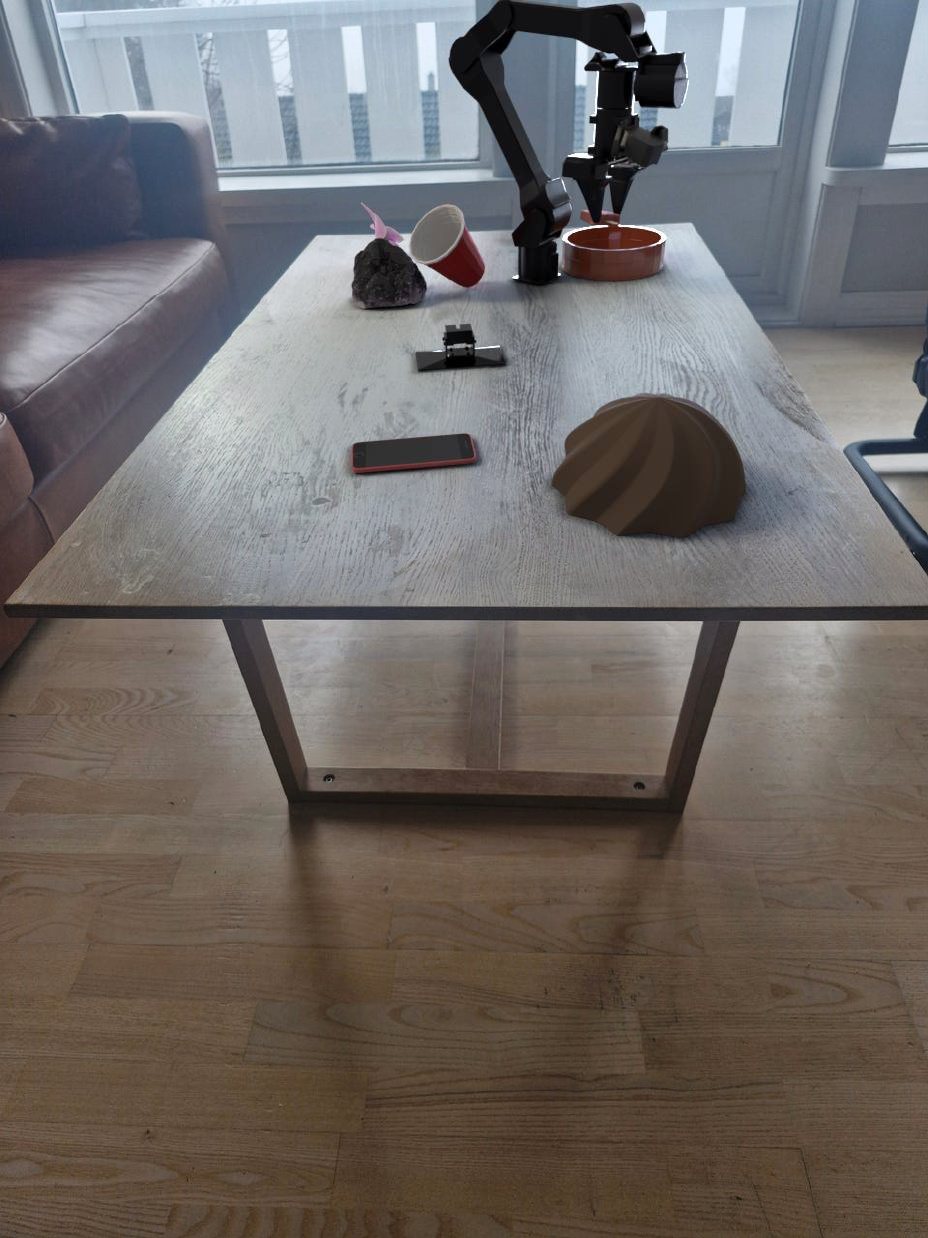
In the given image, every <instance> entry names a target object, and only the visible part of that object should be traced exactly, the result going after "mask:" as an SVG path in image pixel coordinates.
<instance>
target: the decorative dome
mask: <svg viewBox="0 0 928 1238" xmlns="http://www.w3.org/2000/svg"><path fill="white" fill-rule="evenodd" d="M563 447H564V453H565V458H564V459H563V460H562V462H561V463H560V465H558V467H557V468H556V470H555V471H554V472H553V476H552V480H551V486H552V487H553V489H555V490H556V491H557V492H559V494H561V495H562V496H563V497H564V498H565V513H566V514H568V515H569V516H574V517H578V518H582V519H587V520H591V521H594V522H597V523H598V524H600V525H601V526H603V527H604V528H605V529H607V530H608V531H610V532H611V533H613V534H614V535H615V536H628V535H638V534H639V535H640V534H648V533H649V534H650V533H651V534H656V535H657V534H658V535H661V536H662V535H663V536H669V537H675V538H688V537H689V536H691V535H692V534H694V533H695V532H697V531H698V530H700V529H701V528H703V527H704V526H709V525H715V524H716V525H717V524H721V523H727V522H732V521H734V520H735V518H736V515H737V512H738V508H739V505H740V501H741V497H742V496H743V495H745V494H746V493H747V485H746V484H747V483H746V475H745V474H746V473H745V469H744V465H743V461H742V457H741V455H740V451H739V449H738V447H737V445H736V443H735V440H734V439H733V438H732V436H731V435H730V433H729V432H728V431H727V429H726V428H725V427H724V426H723V424H722V423H721V422H720V421H719V420H718V419H717V418H716V417H715V416H714V414H713V415H712V413H711V412H710V411H708V410H707V409H706V408H704V406H702V405H700V404H698V403H697V402H694V401H693V400H690V399H688V398H684V397H680V396H679V397H678V396H674V395H672V394H669V393H667V392H660V393H650V392H640V393H637V394H634V395H632V396H627V397H621V398H617V399H614V400H611V401H609V402H606V403H605V404H603V405H602V406H601V407H599V408H598V409H597V410H596V411H595V413H594V414H593V416H592V417H590V418H589V419H587V420H585V421H584V422H582V423H580V424H579V425H577V426H576V427H575V428H574V429H573V430H571V431H570V433H568V434H567V435H566V437H565V440H564V445H563Z"/></svg>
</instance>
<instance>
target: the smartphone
mask: <svg viewBox="0 0 928 1238" xmlns="http://www.w3.org/2000/svg"><path fill="white" fill-rule="evenodd" d="M350 457H351V458H350V460H351V461H350V469H351V471H352V472H353V473H357V474H362V473H374V472H387V471H398V470H410V469H420V468H431V467H432V468H433V467H444V466H455V465H456V466H457V465H466V464H467V465H468V464H473V463H475V462H476V460H477V453H476V449H475V445H474V441H473V437H472V435H471V434H469V433H464V432H463V433H452V434H451V433H450V434H438V435H428V436H427V435H426V436H416V437H403V438H392V439H381V440H368V441H357V442H355V443H353V444H352V445H351V455H350Z"/></svg>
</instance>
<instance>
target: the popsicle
mask: <svg viewBox="0 0 928 1238" xmlns="http://www.w3.org/2000/svg"><path fill="white" fill-rule="evenodd" d="M579 215H580V216H579V219H580V220H581V221H582V222H585V223H587V224H589V225H590V226H591V227H595V226H619V225H621V223H620V222H621V215H619V214H615V213H613V212H611V211H607V210H603V209H602V214H601V219H600V222H599V223H594V222H593V221H592V218H591V215H590V213H589V210H588V209H581V210H580V213H579Z"/></svg>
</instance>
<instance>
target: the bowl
mask: <svg viewBox="0 0 928 1238" xmlns="http://www.w3.org/2000/svg"><path fill="white" fill-rule="evenodd" d="M666 243H667V237H666V235H665V234H664V233H663V232H661V231H658V230H656V229H654V228H649V227H643V226H637V225H636V226H635V225H621V224H619V226H589V227H583V228H579V229H574V230H572V231H569V232H567V233H565V234H564V235H563V237H562V249H561V250H562V251H561V254H562V256H561V268H562V271H563V272H565V273H566V274H568V275H570V276H572V277H576V278H580V279H584V280H585V279H586V280H593V281H606V282H607V281H608V282H609V281H611V282H613V281H614V282H615V281H616V282H617V281H631V280H632V281H633V280H638V279H643V278H647V277H651V276H653V275H657V274H658V273H659V272H660V271H662V269H663V265H664V258H665V249H666Z"/></svg>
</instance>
